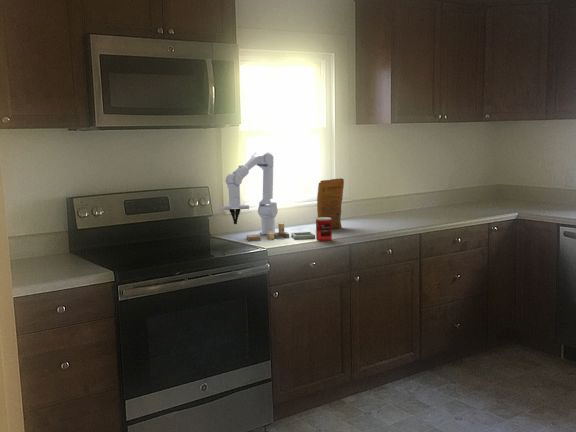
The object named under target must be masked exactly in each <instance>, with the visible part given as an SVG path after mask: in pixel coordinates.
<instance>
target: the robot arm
mask: <svg viewBox="0 0 576 432" xmlns="http://www.w3.org/2000/svg"><path fill="white" fill-rule="evenodd" d="M255 166H258V167H259V168H261V170H262V199H261V200H260V201H259V203H258V207H257V213H258V215H259V217H260V219H261V231H260V232H259V233H260V234H261V235H268V232H273V233H277V232H276V223H275V221H276V219H275V218H276V217H277V216H278V215H277V214H278V211H279V209H278V204H277V202H276V201H275V200H274V199H273V198H274V197H273V195H274V192H273V190H274V188H273V187H274V156H273V154H272V153H271V152H269V151H267V152H254V153H253V154H251V158H249V160H248V161H246V163H245V164H244V165H238V168H236V169H235V170H234V171H233V172H231V173H228V174H227V175H226V177H225V183H226V186H227V189H228V190H227V191H228V205H223V206H220V211H221V212H222V211H229V213H230V215H231V218H232V220H233V224H234V225H238V218H239V215H240V213H241V210H250V205H248V204H247V205H245V204H244V205H243V204H242V205H241V190H240V189H241V188H240V185H241V184H242V182H243V180H244V178H245V177H247V176H248V175H249V173H250V172H249V171H250V170H251V169H253V168H254V167H255Z"/></svg>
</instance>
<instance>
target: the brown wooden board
mask: <svg viewBox="0 0 576 432" xmlns="http://www.w3.org/2000/svg"><path fill="white" fill-rule="evenodd" d="M246 239H247V241H248V242H255V241H256V242H257V241H261V236H260V234H258V233H254V234H246Z"/></svg>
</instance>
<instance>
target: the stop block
mask: <svg viewBox="0 0 576 432" xmlns="http://www.w3.org/2000/svg"><path fill="white" fill-rule="evenodd" d="M267 239H268V240H270V241H271V240H275V237H274V233H273V232H268V234H267Z"/></svg>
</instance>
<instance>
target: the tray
mask: <svg viewBox="0 0 576 432" xmlns="http://www.w3.org/2000/svg"><path fill="white" fill-rule="evenodd" d="M291 237H292V238H293V239H294V240H315V239H316V235H315V233H313V232H311V231H303V232H302V231H301V232H291Z"/></svg>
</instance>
